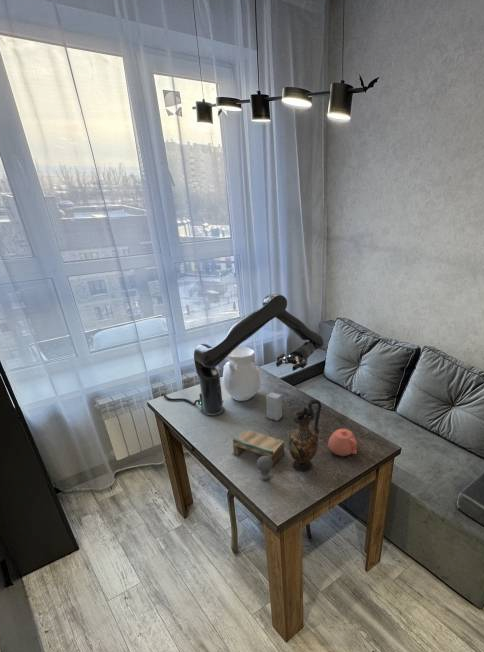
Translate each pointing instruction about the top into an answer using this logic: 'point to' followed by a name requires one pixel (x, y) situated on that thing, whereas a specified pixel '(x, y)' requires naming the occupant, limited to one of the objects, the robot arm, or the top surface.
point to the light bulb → (265, 466)
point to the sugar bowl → (342, 442)
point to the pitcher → (241, 374)
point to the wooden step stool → (259, 445)
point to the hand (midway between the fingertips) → (285, 366)
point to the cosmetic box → (274, 406)
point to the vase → (304, 437)
